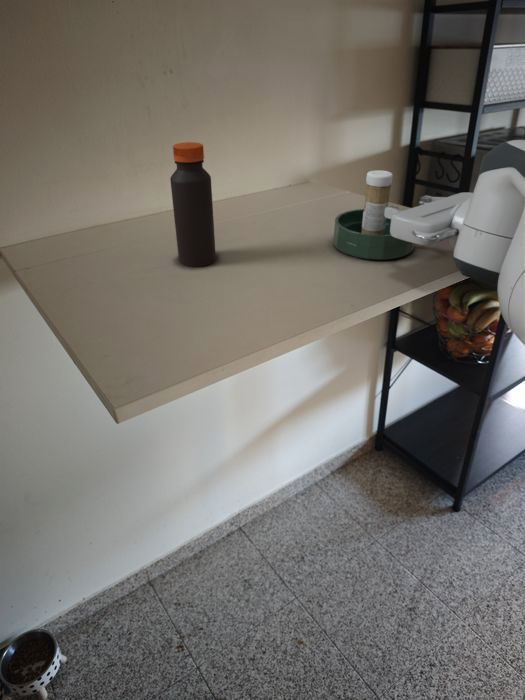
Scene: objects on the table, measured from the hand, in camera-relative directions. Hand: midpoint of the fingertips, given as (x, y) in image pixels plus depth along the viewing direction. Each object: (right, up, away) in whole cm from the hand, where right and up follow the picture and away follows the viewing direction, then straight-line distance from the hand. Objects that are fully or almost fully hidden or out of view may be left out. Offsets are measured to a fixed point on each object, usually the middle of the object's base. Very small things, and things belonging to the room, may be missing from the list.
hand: (404, 205), depth 88 cm
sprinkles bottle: (-4, -5, +8) cm, 11 cm away
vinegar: (-37, -9, +4) cm, 38 cm away
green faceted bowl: (-4, -5, +9) cm, 11 cm away
